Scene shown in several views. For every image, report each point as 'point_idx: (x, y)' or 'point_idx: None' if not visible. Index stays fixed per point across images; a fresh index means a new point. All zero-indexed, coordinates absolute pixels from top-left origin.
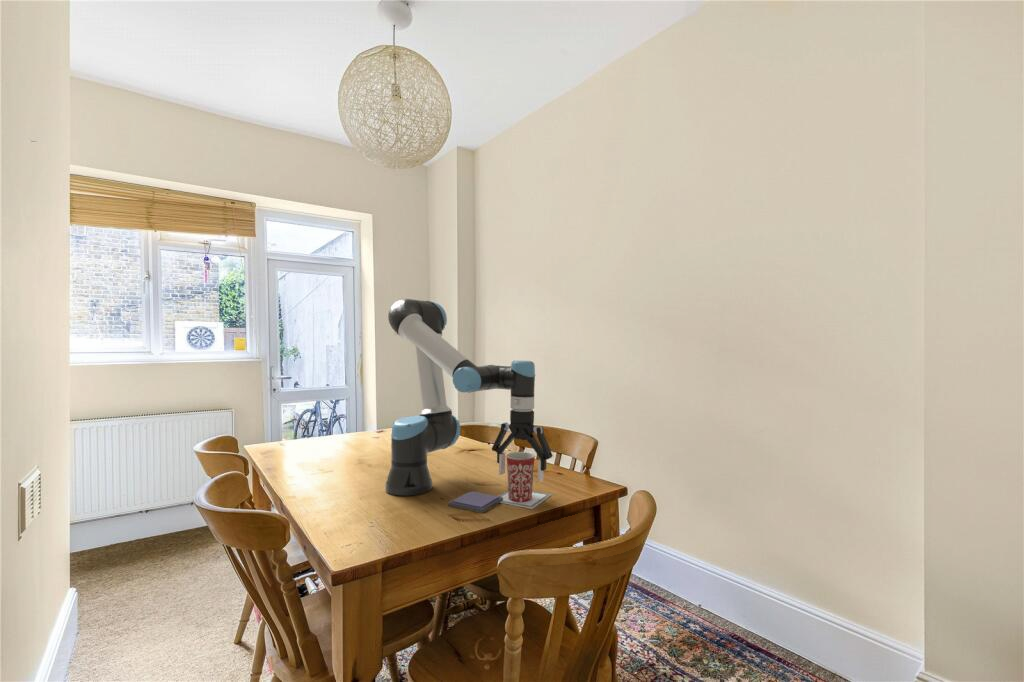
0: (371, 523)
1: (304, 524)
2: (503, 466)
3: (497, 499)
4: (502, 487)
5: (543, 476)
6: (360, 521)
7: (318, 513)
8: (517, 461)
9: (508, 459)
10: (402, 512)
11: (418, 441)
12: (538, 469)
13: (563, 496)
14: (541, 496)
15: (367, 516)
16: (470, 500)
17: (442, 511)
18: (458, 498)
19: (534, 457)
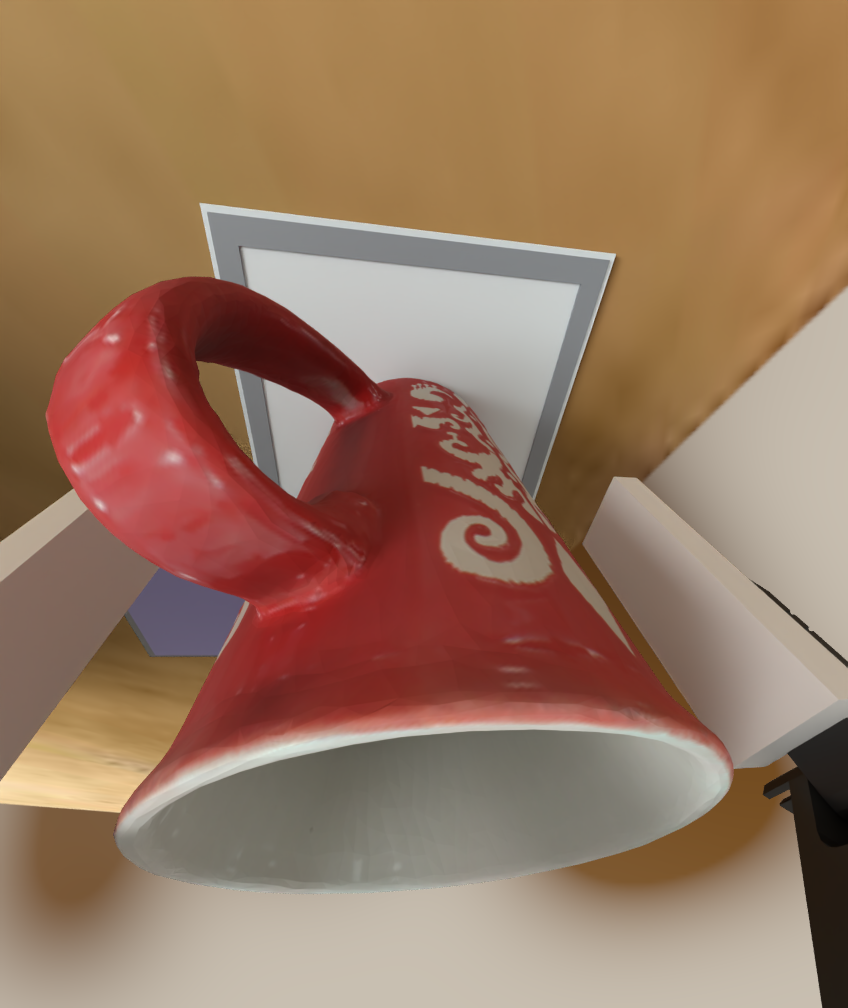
0: (122, 765)
1: (8, 802)
2: (111, 552)
3: None
4: (85, 204)
5: (656, 496)
6: (84, 768)
7: None
8: (455, 841)
9: (316, 849)
10: (95, 717)
11: None
12: (653, 639)
13: (722, 231)
14: (539, 351)
15: (54, 754)
16: (219, 627)
17: (195, 676)
18: (148, 629)
19: (698, 803)
